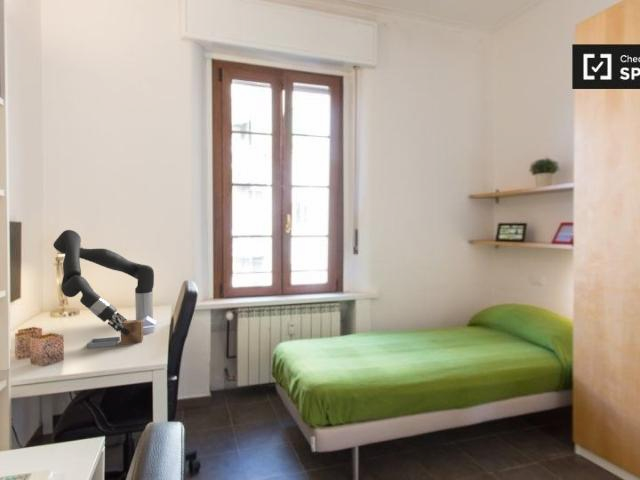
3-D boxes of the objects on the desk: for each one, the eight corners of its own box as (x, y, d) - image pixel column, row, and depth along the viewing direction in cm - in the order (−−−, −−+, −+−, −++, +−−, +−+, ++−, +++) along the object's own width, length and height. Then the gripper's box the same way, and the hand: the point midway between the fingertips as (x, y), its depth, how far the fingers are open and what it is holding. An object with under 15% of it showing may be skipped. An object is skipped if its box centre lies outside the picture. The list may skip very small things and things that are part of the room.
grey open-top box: (87, 348, 173) (87, 343, 173) (92, 342, 180) (91, 338, 180) (116, 345, 176) (116, 341, 176) (119, 340, 184) (119, 336, 184)
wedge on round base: (138, 328, 206) (135, 335, 194) (138, 316, 206) (135, 322, 193) (156, 327, 209) (154, 333, 197) (156, 315, 209) (154, 320, 196)
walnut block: (120, 344, 179) (120, 323, 178) (123, 341, 183) (122, 320, 183) (141, 342, 181) (141, 321, 181) (143, 339, 186) (142, 319, 186)
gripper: (100, 312, 184) (126, 333, 188) (92, 319, 170) (120, 341, 174) (112, 300, 185) (138, 322, 189) (105, 306, 171) (133, 329, 175)
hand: (129, 331), depth 181 cm, fingers open, 8 cm apart
